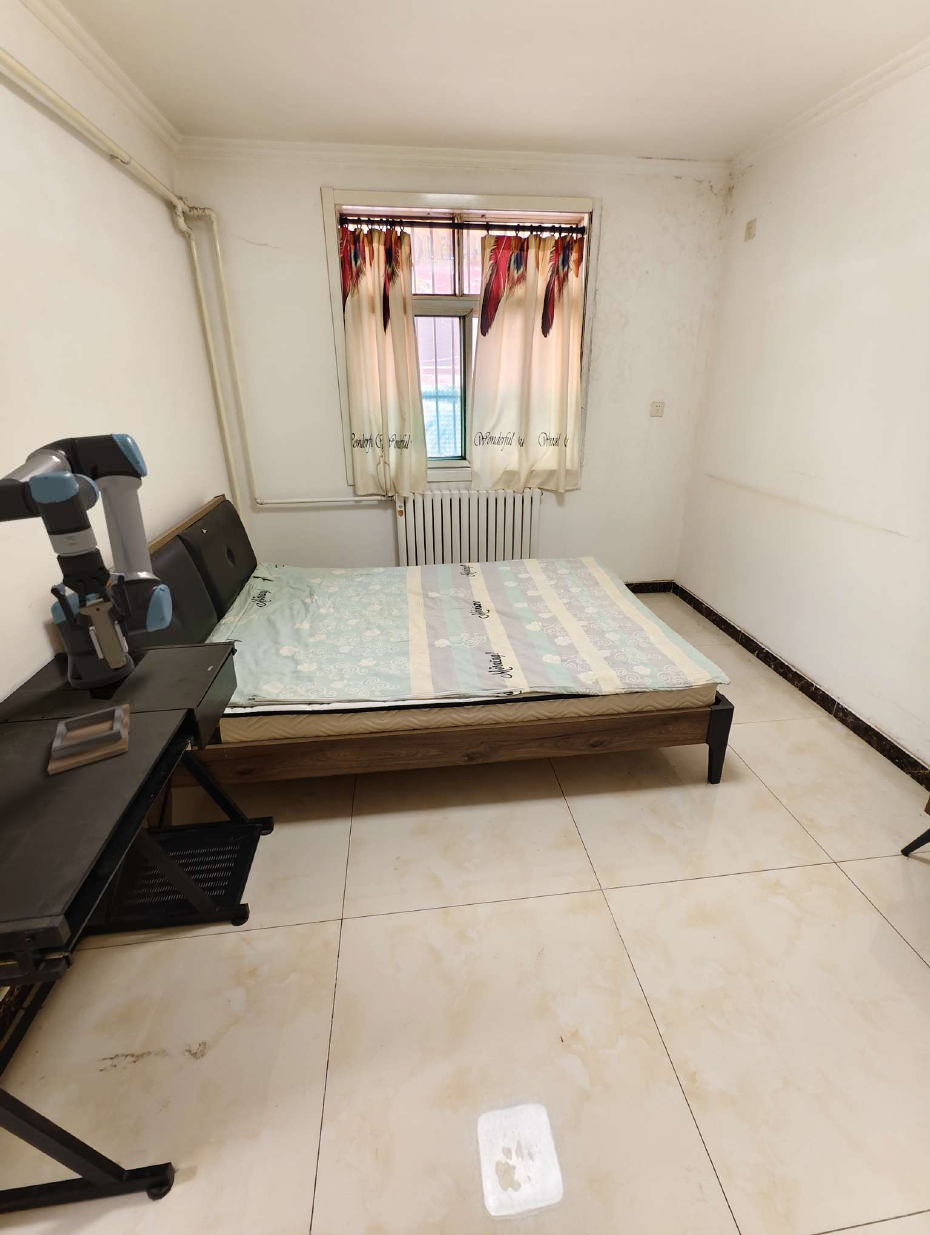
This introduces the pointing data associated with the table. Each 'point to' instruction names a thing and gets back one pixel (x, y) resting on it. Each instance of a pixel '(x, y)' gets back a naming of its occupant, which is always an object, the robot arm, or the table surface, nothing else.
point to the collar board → (90, 738)
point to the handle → (105, 631)
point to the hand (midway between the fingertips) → (113, 652)
